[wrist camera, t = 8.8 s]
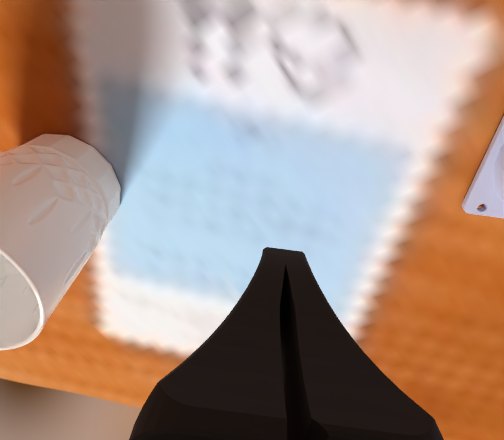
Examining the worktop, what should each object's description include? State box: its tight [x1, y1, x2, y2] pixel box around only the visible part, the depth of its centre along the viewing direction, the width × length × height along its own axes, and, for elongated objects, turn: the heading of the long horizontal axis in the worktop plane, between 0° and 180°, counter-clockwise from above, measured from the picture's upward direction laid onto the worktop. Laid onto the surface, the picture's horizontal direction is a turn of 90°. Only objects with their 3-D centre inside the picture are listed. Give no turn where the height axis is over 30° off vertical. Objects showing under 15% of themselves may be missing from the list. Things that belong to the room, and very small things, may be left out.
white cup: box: [0, 134, 121, 350], centre depth 20 cm, size 8×8×10 cm
